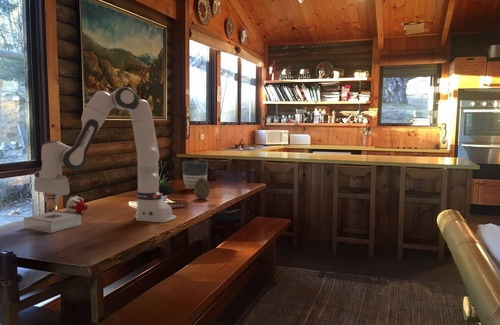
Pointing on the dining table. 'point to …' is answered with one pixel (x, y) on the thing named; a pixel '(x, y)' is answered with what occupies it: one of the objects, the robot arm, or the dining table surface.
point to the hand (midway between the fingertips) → (51, 202)
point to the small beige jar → (51, 202)
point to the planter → (194, 172)
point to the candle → (76, 205)
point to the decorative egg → (201, 188)
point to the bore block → (52, 221)
